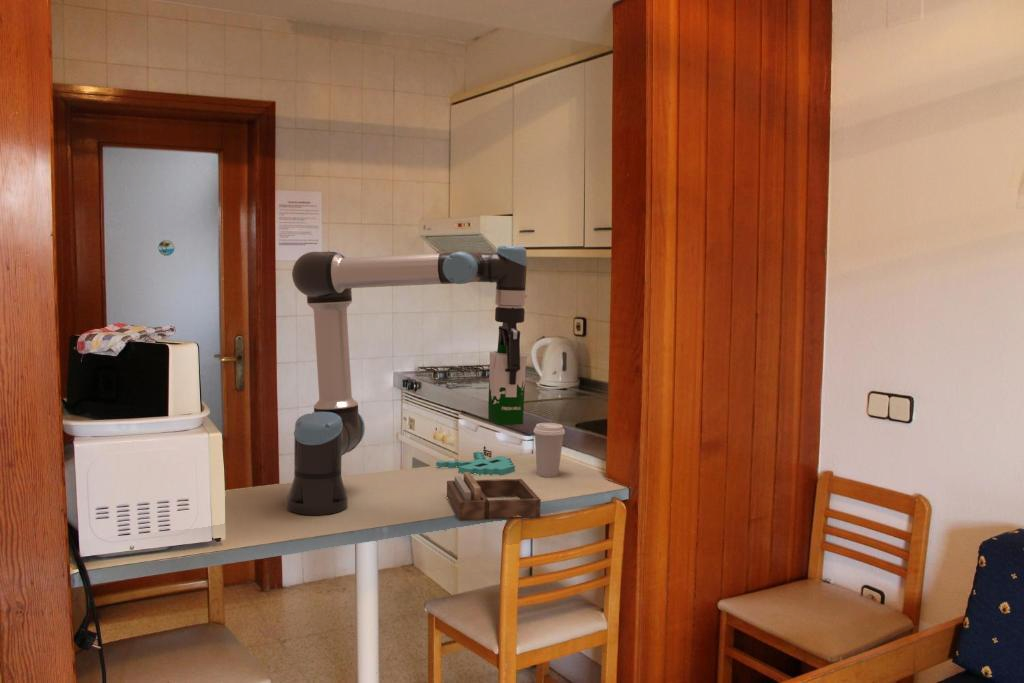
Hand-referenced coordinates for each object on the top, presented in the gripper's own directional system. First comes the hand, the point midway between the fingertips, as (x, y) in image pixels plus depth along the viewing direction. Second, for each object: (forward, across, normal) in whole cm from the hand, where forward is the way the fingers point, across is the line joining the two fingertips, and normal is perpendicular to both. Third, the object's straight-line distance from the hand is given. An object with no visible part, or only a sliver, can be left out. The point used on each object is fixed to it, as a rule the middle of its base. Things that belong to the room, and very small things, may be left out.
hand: (506, 393), depth 226 cm
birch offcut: (+30, 0, +8) cm, 31 cm away
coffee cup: (+30, +31, -21) cm, 48 cm away
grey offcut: (+30, 0, +11) cm, 32 cm away
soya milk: (+8, 0, 0) cm, 8 cm away
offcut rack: (+30, 0, +3) cm, 30 cm away
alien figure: (+31, +41, -3) cm, 51 cm away
